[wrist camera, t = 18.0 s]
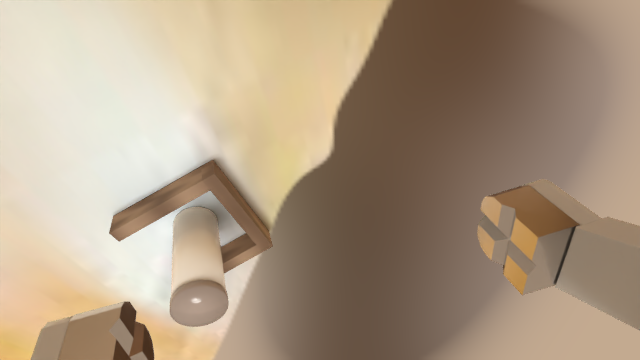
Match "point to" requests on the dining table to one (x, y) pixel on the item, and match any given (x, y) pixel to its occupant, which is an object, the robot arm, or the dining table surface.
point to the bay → (187, 191)
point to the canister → (197, 269)
